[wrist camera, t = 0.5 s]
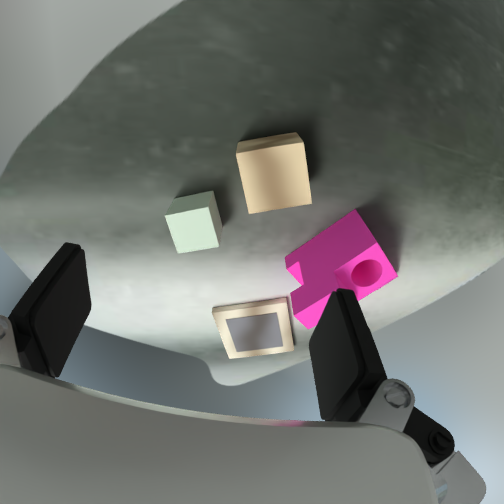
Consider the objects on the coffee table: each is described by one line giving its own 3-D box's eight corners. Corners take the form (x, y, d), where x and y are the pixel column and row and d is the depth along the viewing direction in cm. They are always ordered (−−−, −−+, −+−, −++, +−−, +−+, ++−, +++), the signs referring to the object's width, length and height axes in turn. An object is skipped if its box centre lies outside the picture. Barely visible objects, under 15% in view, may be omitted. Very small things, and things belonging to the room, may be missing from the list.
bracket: (284, 256, 39) (293, 315, 30) (354, 208, 35) (386, 257, 26) (334, 311, 43) (350, 368, 35) (396, 272, 40) (425, 324, 31)
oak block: (296, 131, 31) (303, 142, 26) (303, 185, 34) (311, 203, 29) (238, 141, 31) (235, 153, 27) (249, 194, 34) (249, 213, 30)
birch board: (285, 297, 42) (286, 302, 41) (293, 345, 47) (294, 351, 46) (212, 307, 43) (211, 313, 42) (229, 353, 48) (229, 359, 47)
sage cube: (213, 190, 34) (208, 207, 30) (222, 226, 36) (219, 246, 32) (174, 198, 34) (164, 215, 31) (185, 233, 37) (178, 253, 33)
